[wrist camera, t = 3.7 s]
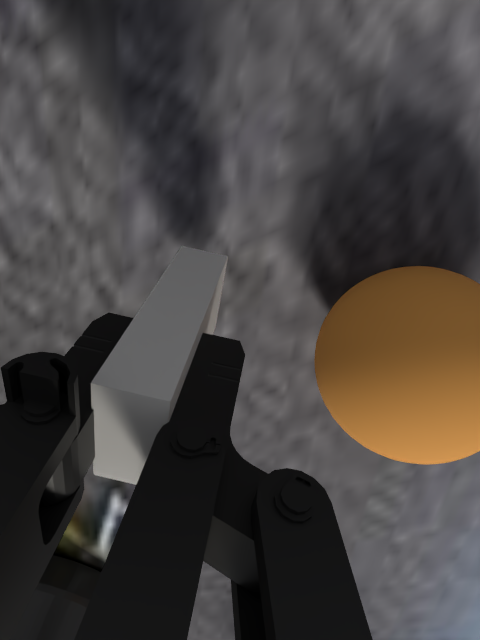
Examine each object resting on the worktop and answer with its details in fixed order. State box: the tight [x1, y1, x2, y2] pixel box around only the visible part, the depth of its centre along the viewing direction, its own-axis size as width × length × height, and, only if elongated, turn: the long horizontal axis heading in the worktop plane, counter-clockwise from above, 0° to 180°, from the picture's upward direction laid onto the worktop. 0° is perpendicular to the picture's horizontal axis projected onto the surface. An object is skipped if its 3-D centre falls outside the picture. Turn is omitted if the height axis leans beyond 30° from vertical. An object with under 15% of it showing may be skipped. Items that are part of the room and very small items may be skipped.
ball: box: [315, 266, 480, 464], centre depth 13 cm, size 6×6×6 cm
